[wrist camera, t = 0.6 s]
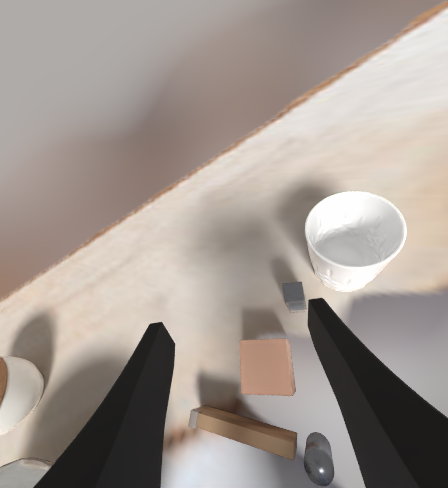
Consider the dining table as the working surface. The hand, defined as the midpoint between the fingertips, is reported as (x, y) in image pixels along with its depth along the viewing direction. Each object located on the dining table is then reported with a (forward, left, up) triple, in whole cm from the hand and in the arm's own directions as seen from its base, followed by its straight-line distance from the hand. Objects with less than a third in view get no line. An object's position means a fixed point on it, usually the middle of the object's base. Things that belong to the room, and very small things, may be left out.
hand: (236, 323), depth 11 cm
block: (-2, +2, -19) cm, 19 cm away
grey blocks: (-2, -2, -19) cm, 19 cm away
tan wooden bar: (-8, +5, -19) cm, 21 cm away
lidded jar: (-6, +41, -19) cm, 45 cm away
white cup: (+9, -8, -19) cm, 23 cm away
